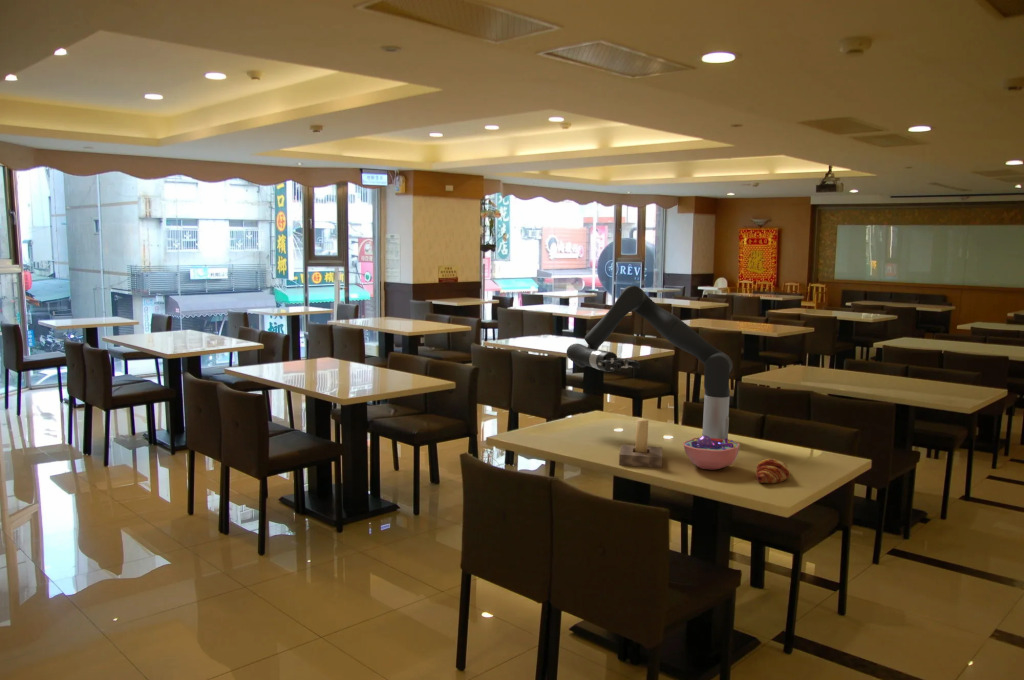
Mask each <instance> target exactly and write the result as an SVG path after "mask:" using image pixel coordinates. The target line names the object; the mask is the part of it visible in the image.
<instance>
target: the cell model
mask: <svg viewBox="0 0 1024 680" xmlns="http://www.w3.org/2000/svg"><path fill="white" fill-rule="evenodd" d="M682 445H683V449H684V452H685V454H686V456H687V457H688V458H689V460H690V461H691V463H692V464H694V465H695V466H696V467H698V468H700V469H702V470H709V471H713V470H719V469H723V468H726V467H728V466H730V465H732V464H733V463H735V462H736V459H737V458H738V455H739V452H740V445H741V444H740V443H738V442H736V441H734V440H732V439H729V438H728V439H727V438H725V439H715V438H710V437H709V436H706V435H704V436H700V437H693V438H690V439H689V440H685V441H684V442H683V443H682Z"/></svg>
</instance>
